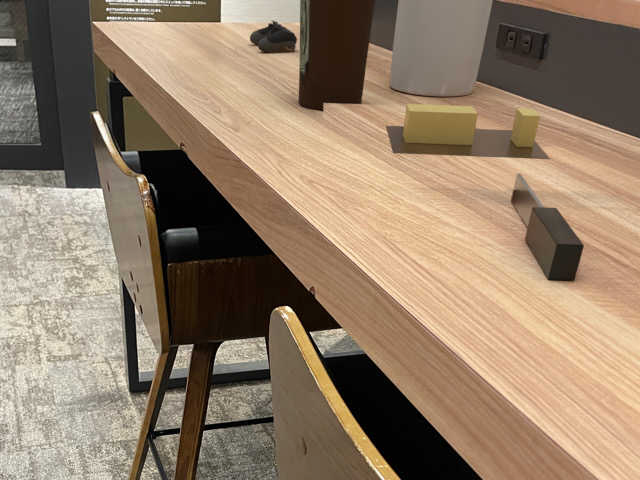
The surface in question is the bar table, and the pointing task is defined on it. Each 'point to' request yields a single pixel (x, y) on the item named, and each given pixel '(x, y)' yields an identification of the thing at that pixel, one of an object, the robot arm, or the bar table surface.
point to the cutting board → (483, 145)
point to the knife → (547, 234)
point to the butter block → (439, 124)
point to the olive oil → (333, 51)
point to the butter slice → (525, 127)
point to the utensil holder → (438, 46)
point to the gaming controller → (273, 38)
